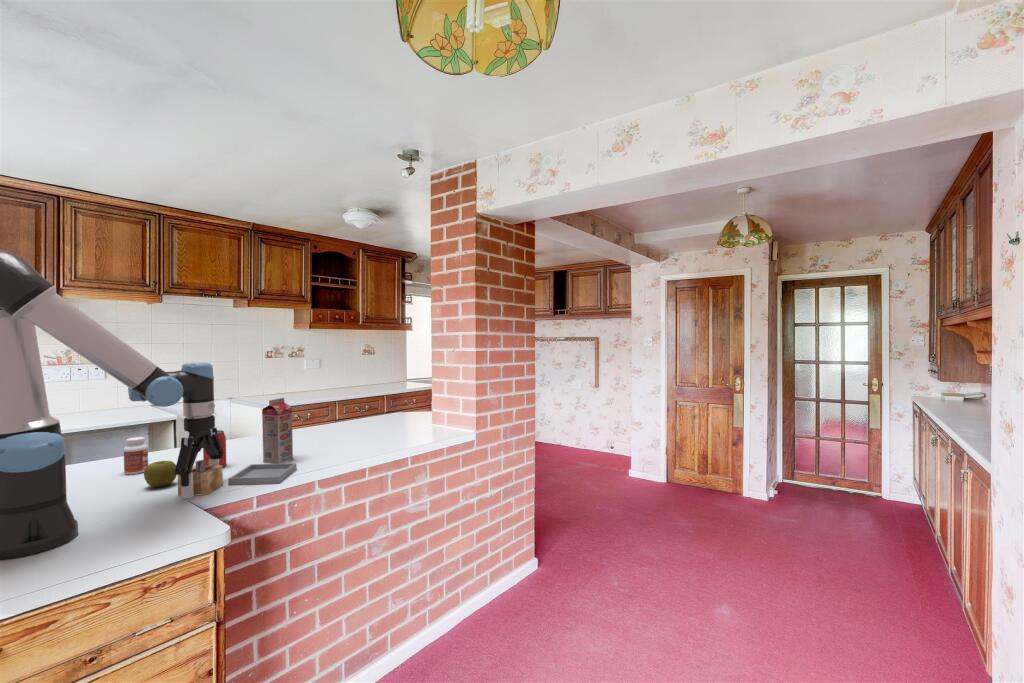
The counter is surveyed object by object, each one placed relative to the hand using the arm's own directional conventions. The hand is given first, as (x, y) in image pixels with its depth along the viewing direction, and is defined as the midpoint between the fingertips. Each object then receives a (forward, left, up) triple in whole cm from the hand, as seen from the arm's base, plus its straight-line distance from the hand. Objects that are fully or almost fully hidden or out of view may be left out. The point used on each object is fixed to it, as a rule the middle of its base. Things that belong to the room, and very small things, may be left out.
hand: (201, 488), depth 137 cm
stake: (0, 0, 0) cm, 0 cm away
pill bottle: (+20, +31, -1) cm, 37 cm away
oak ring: (0, 0, 0) cm, 0 cm away
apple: (+5, +14, -1) cm, 15 cm away
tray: (+11, -13, 0) cm, 17 cm away
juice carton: (+29, -10, -1) cm, 31 cm away
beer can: (+23, +8, -1) cm, 24 cm away
